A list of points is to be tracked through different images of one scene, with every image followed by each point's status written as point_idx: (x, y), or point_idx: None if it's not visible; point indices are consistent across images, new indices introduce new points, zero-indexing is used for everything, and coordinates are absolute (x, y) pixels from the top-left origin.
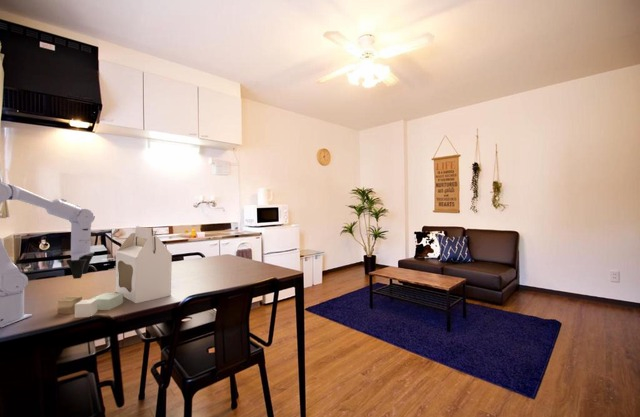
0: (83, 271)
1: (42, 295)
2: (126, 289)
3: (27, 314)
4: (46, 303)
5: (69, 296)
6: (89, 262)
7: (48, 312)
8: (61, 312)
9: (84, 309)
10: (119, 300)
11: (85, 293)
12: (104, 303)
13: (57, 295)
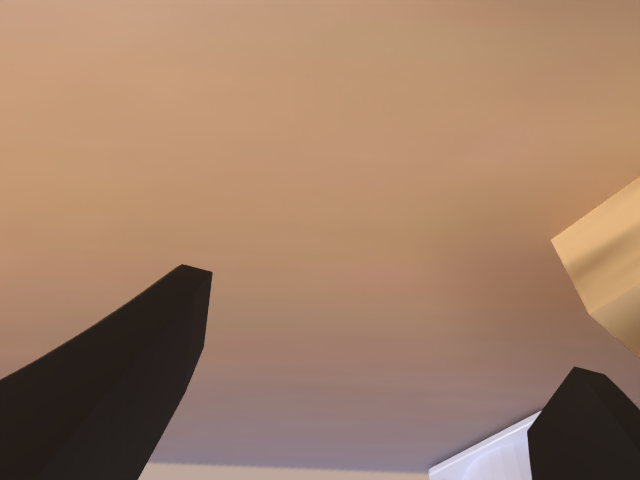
0: (189, 338)
1: (33, 347)
2: None
3: (525, 429)
4: (269, 341)
5: (602, 315)
6: (16, 424)
7: (535, 343)
8: None
9: None
10: None
11: (81, 107)
12: None
13: (67, 284)
